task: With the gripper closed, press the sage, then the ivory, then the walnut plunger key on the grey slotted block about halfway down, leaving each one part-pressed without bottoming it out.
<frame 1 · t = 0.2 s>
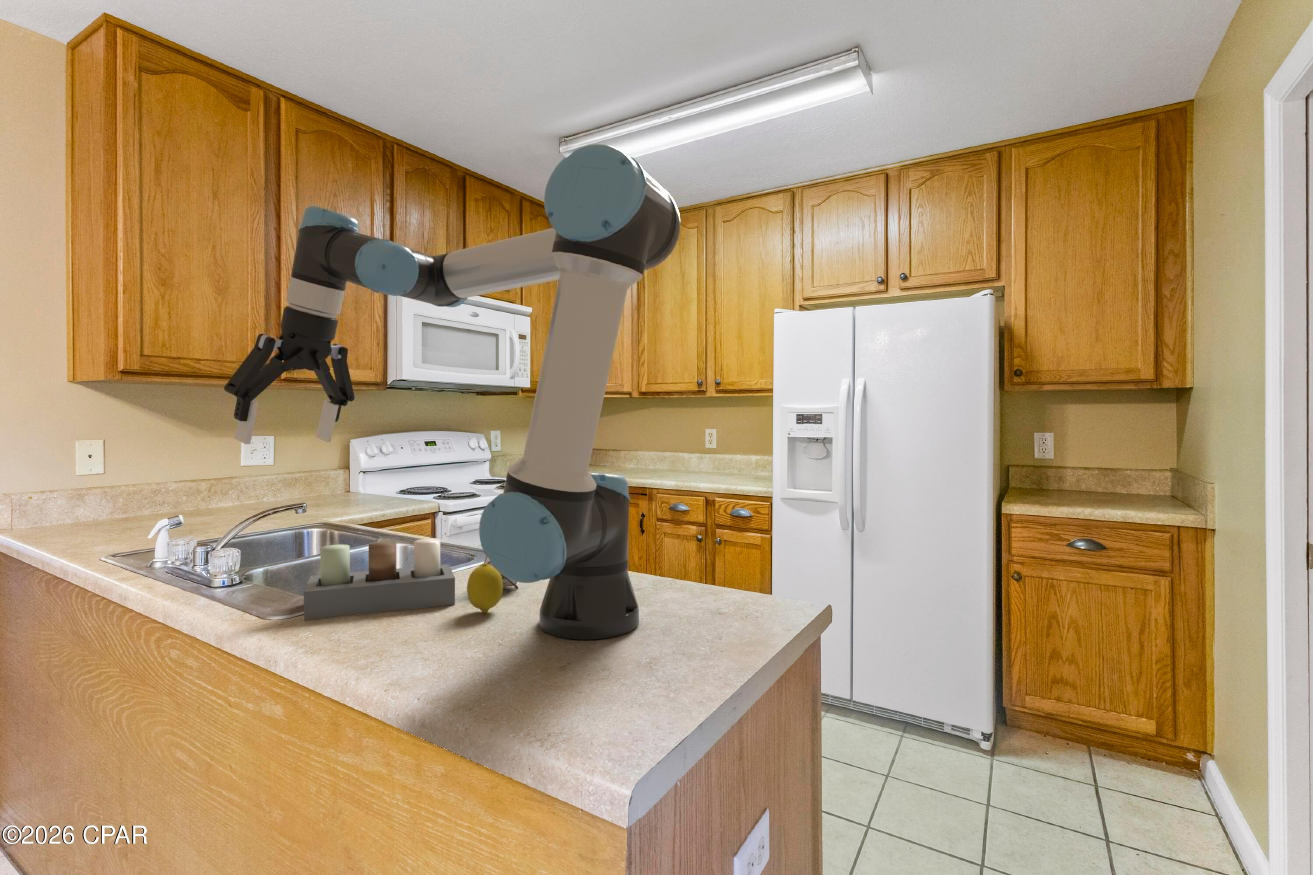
hand: (285, 440, 100), 27 cm above the worktop, tool tilted 15°, fingers open, 13 cm apart
key ivory: (427, 561, 107), point 6 cm above the worktop, slide at 0.0 cm
lemon: (485, 613, 100), on the worktop
grey slotted block: (382, 603, 104), on the worktop
key walnut: (382, 564, 104), point 6 cm above the worktop, slide at 0.0 cm
key sage: (335, 568, 101), point 6 cm above the worktop, slide at 0.0 cm
wire mesh basket: (502, 589, 114), on the worktop
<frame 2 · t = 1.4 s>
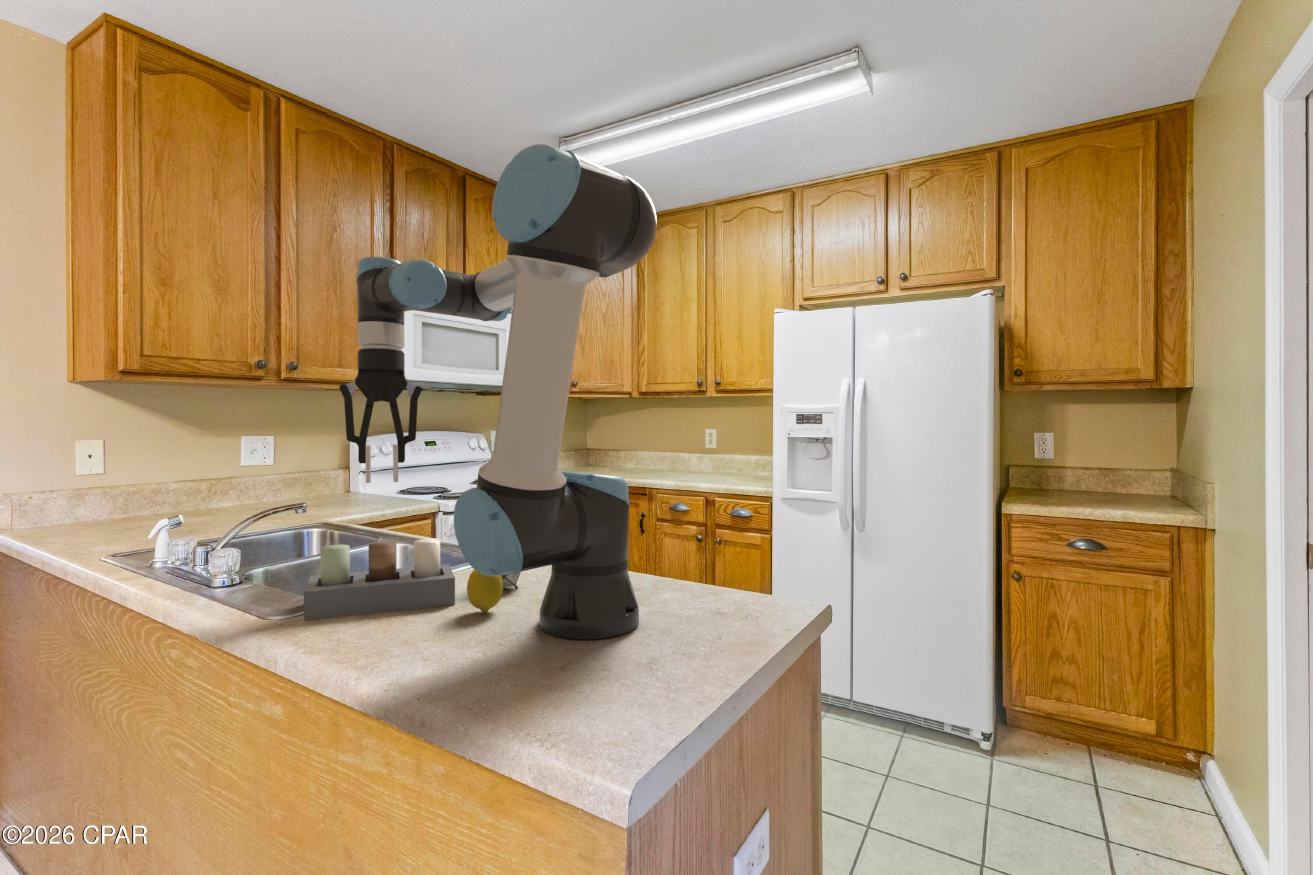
hand: (382, 481, 111), 20 cm above the worktop, tool pointing down, fingers open, 4 cm apart
nothing on the worktop moved.
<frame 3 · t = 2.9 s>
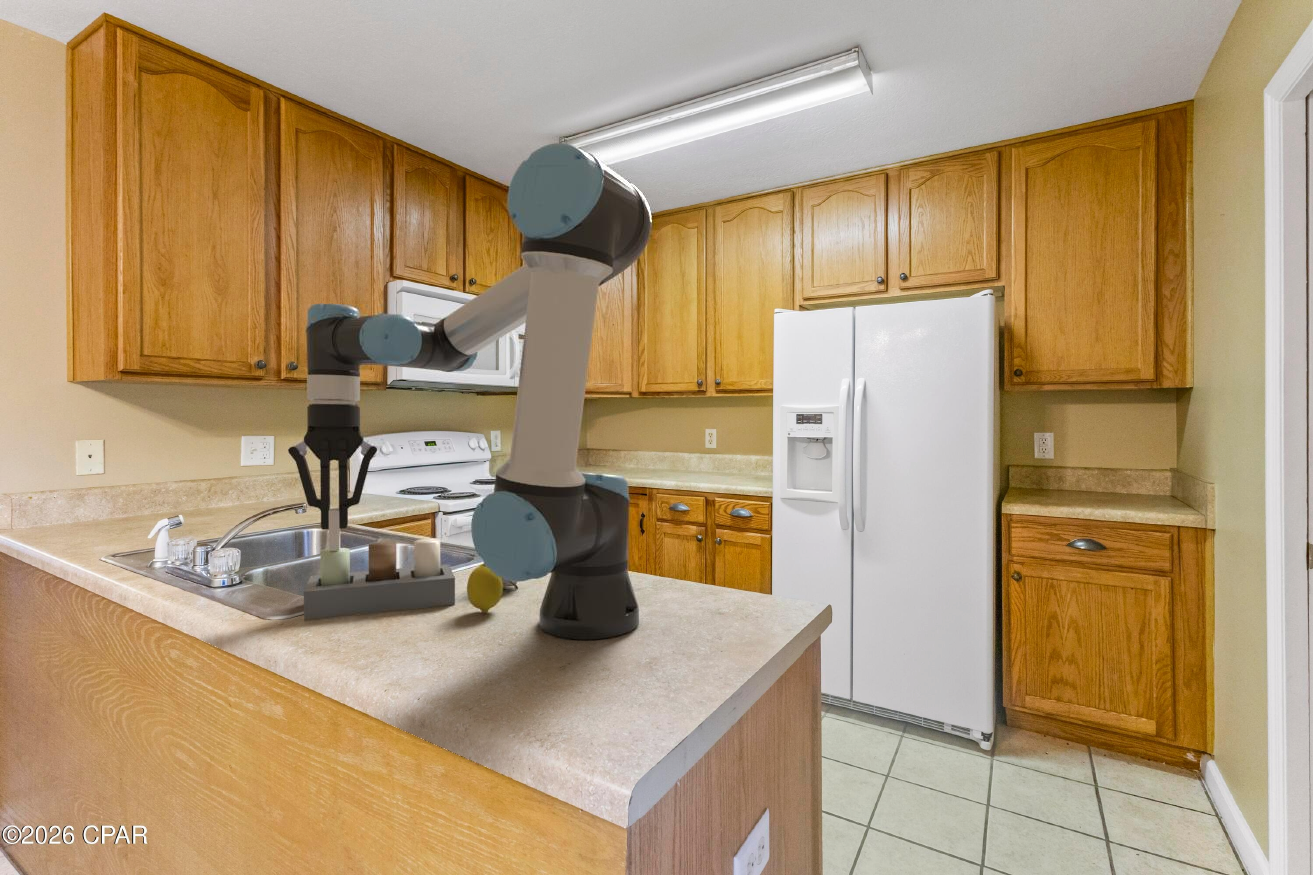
hand: (334, 548, 101), 10 cm above the worktop, tool pointing down, fingers closed
key sage: (335, 571, 101), point 6 cm above the worktop, slide at 0.6 cm, touching gripper
everything else where it was.
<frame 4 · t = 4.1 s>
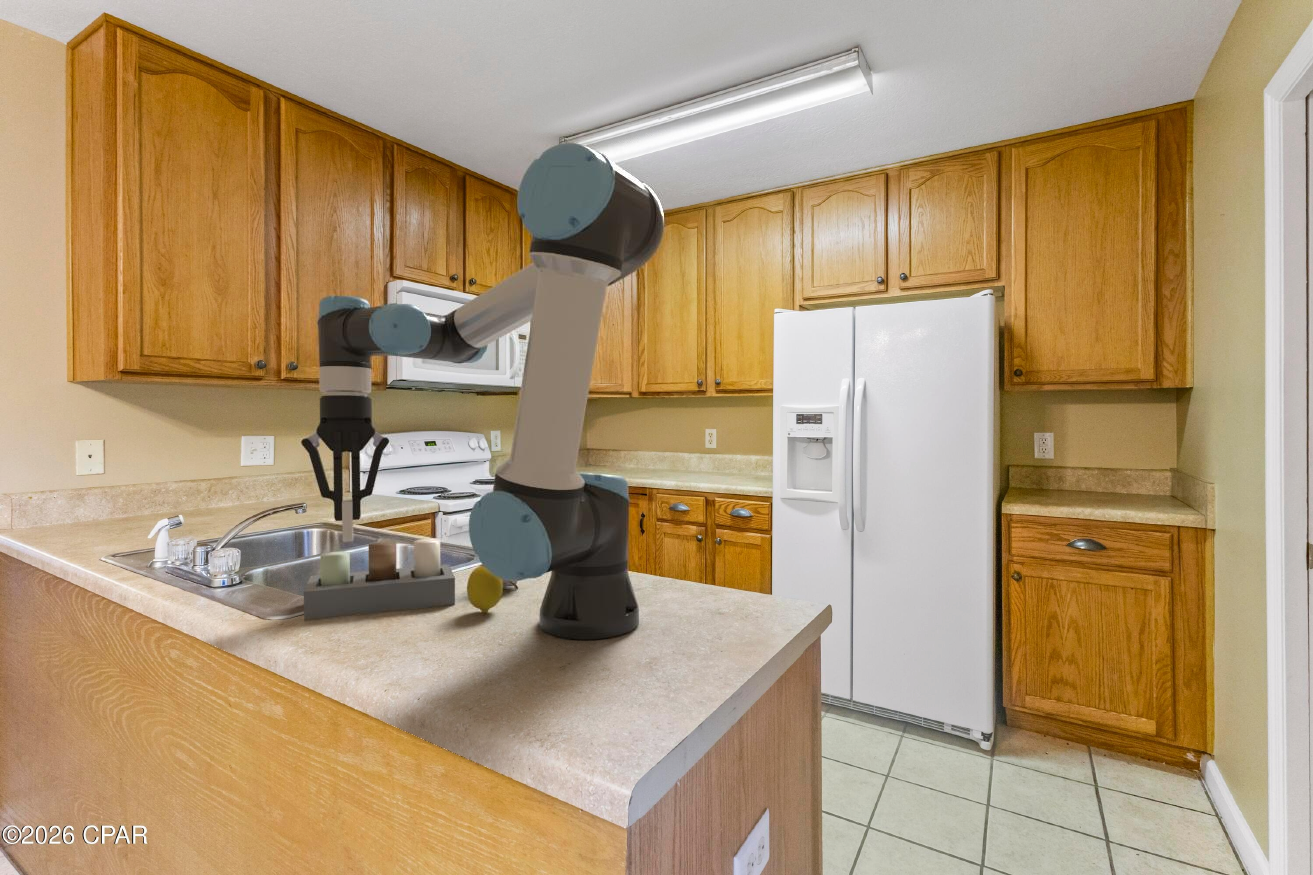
hand: (347, 540, 102), 11 cm above the worktop, tool pointing down, fingers closed
key sage: (335, 575, 101), point 5 cm above the worktop, slide at 1.2 cm
everything else where it was.
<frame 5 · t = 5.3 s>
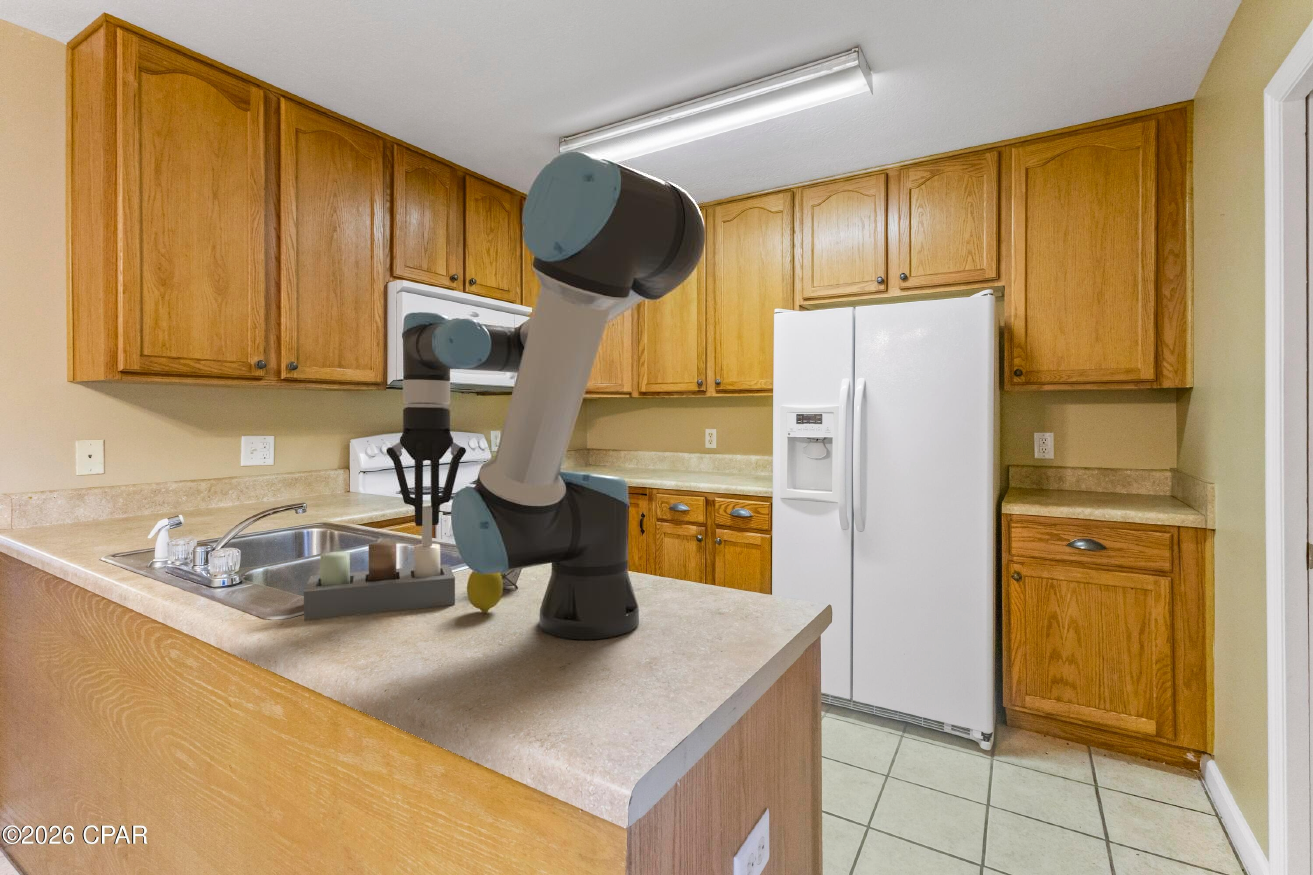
hand: (426, 544, 107), 9 cm above the worktop, tool pointing down, fingers closed
key ivory: (427, 566, 107), point 6 cm above the worktop, slide at 0.9 cm, touching gripper
everything else where it was.
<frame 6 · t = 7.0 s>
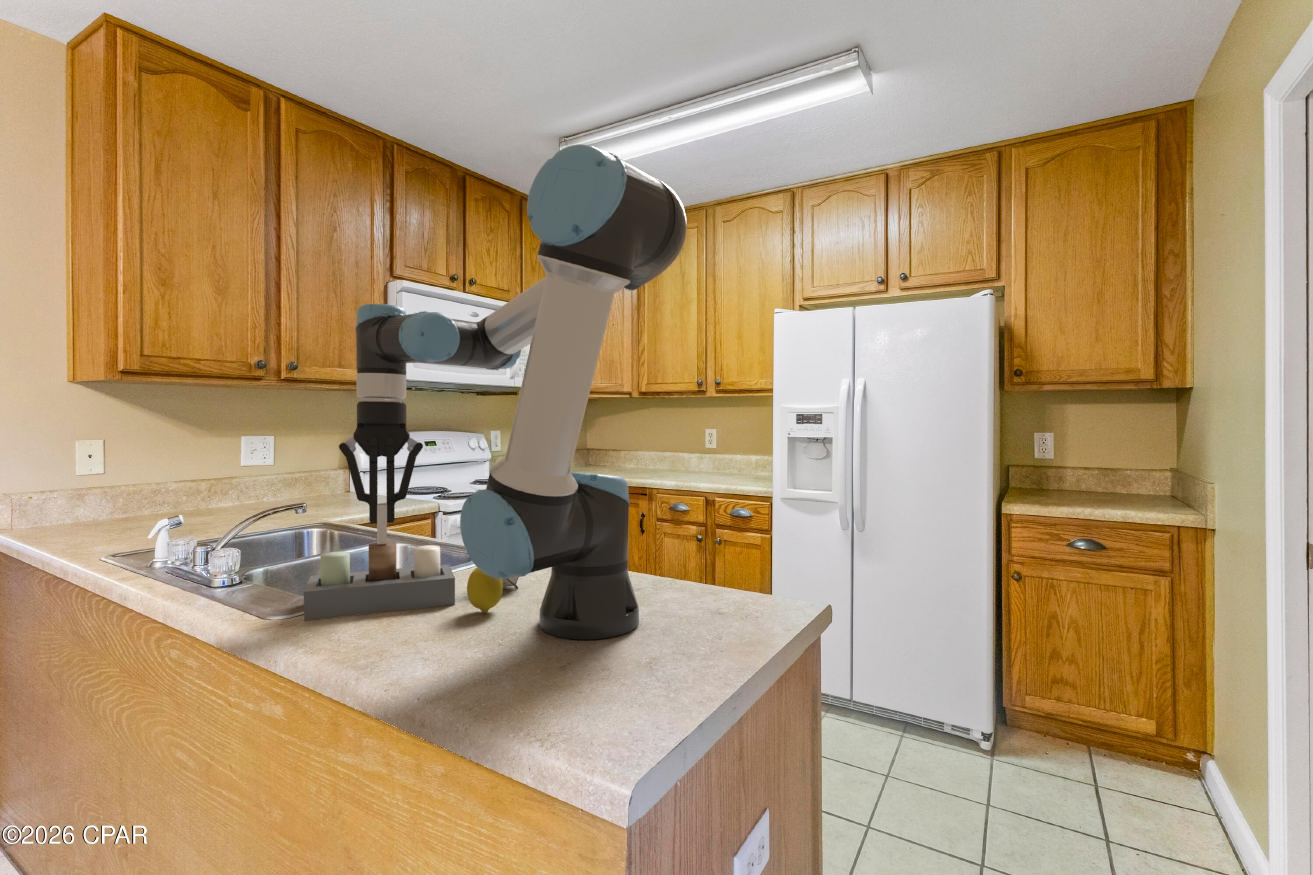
hand: (382, 542, 104), 10 cm above the worktop, tool pointing down, fingers closed
key ivory: (427, 568, 107), point 5 cm above the worktop, slide at 1.2 cm
key walnut: (382, 564, 104), point 6 cm above the worktop, slide at 0.0 cm, touching gripper
everything else where it was.
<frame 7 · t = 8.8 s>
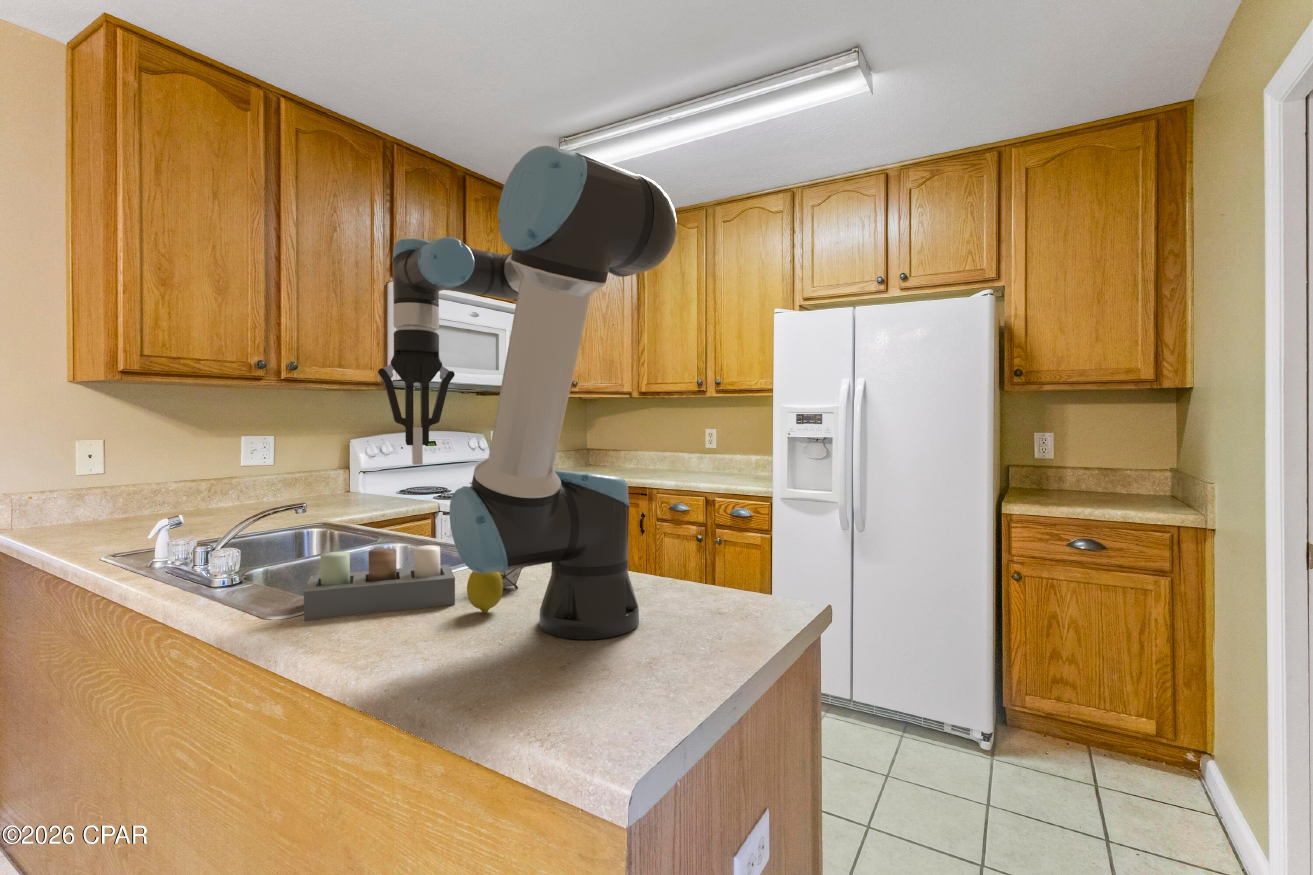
hand: (417, 463, 111), 23 cm above the worktop, tool pointing down, fingers closed
key walnut: (382, 571, 104), point 5 cm above the worktop, slide at 1.2 cm
everything else where it was.
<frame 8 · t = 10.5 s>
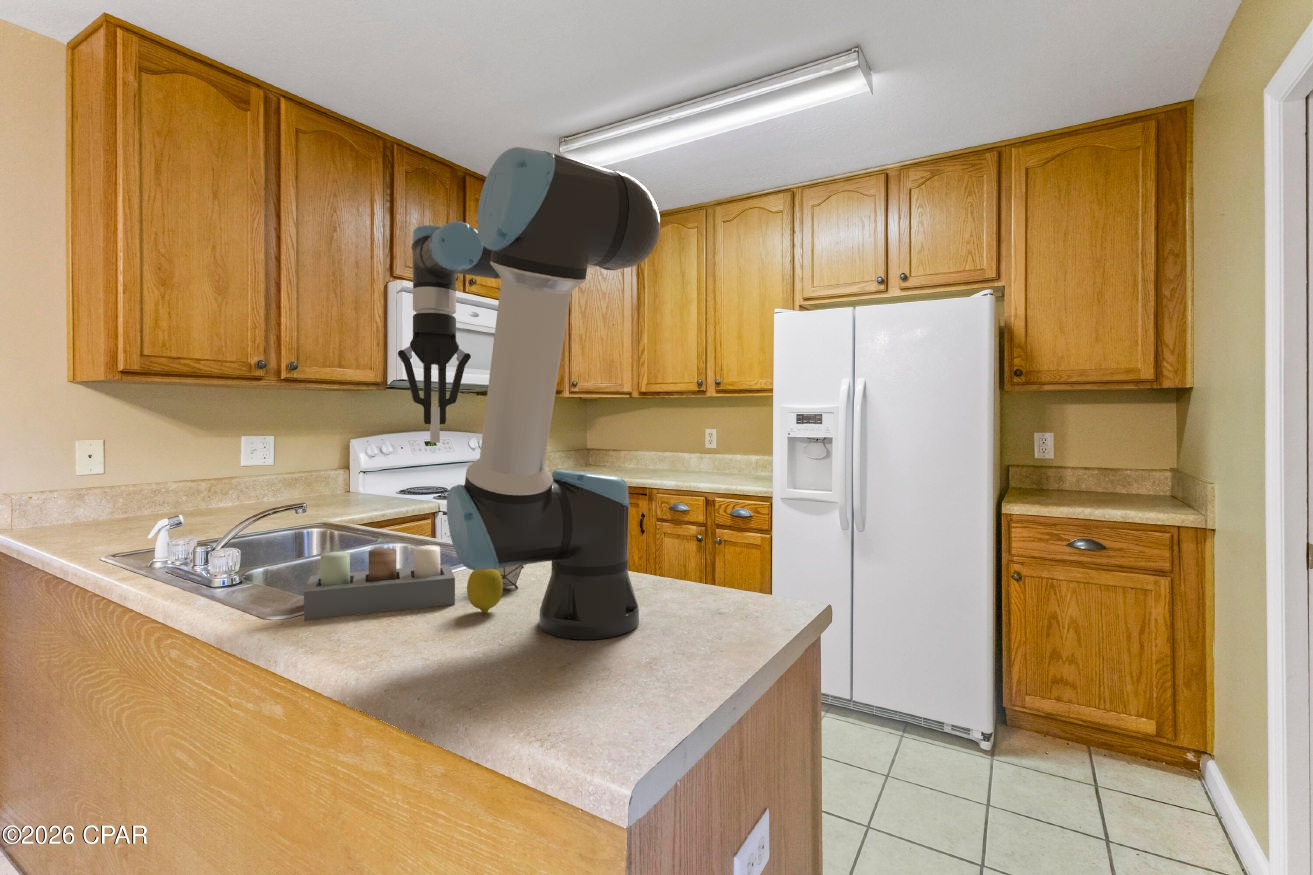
hand: (434, 442, 116), 26 cm above the worktop, tool pointing down, fingers closed
nothing on the worktop moved.
at the end: key sage slide at 1.2 cm; key ivory slide at 1.2 cm; key walnut slide at 1.2 cm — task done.
